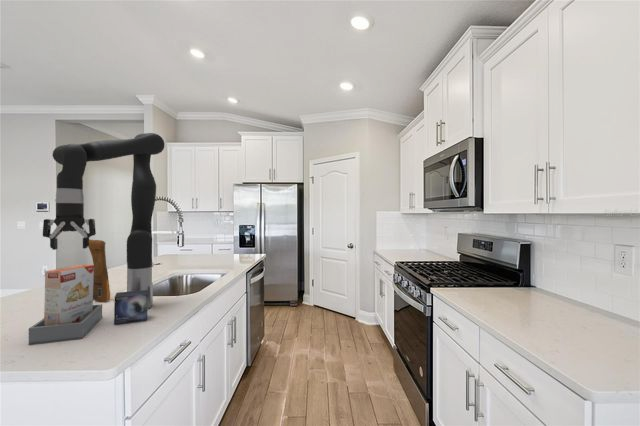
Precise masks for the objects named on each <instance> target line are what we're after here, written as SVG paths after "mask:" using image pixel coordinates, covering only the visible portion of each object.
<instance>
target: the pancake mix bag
mask: <svg viewBox="0 0 640 426" xmlns="http://www.w3.org/2000/svg"><path fill="white" fill-rule="evenodd" d="M87 248H88V250H89V252H90V255H91V258H92V265H94V277H93V300H95V301H96V302H98V303H107V302H109V301H110V300H111V290H110V289H111V288H110V280H109V273H108V266H107V258H106V242H105V240H99V239H89V246H88V247H87Z"/></svg>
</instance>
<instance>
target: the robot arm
mask: <svg viewBox="0 0 640 426" xmlns="http://www.w3.org/2000/svg"><path fill="white" fill-rule="evenodd" d="M164 149H165V141H164V138H163V137H162V136H160V135H159V134H158V133H153V132H146V133H145V132H144V133H139V134H137V135H136V136H134V137H133V138H128V139H127V138H126V139H124V138H123V139H109V140H108V139H107V140H100V141H99V140H98V141H90V142H87V143H86V142H85V143H79V144H78V143H77V144H76V143H69V144H62V145H59V146H57V147H55V148H54V149H53V151H52V159H54V161H55V162H56V163H58V164H60V165H62V169H61V171H60V172H58V174H57V176H56V191H55V199H54V201H55V219H52V218H51V219H50V218H46V219H44V220H43V225H42V237H43V238H47V239H49V247H50V249H51V250H52V251H56V250H58V236H59V235H60V234H61V233H64V232H65V233H66V232H78V233H79V234H80V235H81V236H82V248H83V249H85V250H86V249H88V248H89V247H88V246H89V240H90V238H91V237H92V236H95V235H96V233H97V232H96V231H97V230H96V219H95V218H89V219H85V217H84V211H85V209H84V207H85V206H84V205H85V203H84V202H85V201H84V200H85V199H84V190H83V189H84V180H83V178H84V175H85V171H86V167H87V162H100V161H106V160H111V159H116V158H117V159H118V158H122V157H126V156H133V157H132V158H133V159H132V160H133V169H132V170H133V171H132V181H131V182H132V184H131V193H130V196H131V197H130V200H131V201H130V203H131V205H130V206H131V212H132V222H131V229H130V233H129V235H128V236H127V239H126V265H127V266H126V268H127V269H126V270H127V271H126V292H130V291H141V290H148V294H147V309H151V308H152V306H153V304H154V303H153V302H154V301H153V299H154V297H153V294H154V292H153V291H154V288H153V287H154V286H153V233H152V231H153V230H152V221H153V220H152V218H153V214H154V210H155V209H154V208H155V204H156V198H157V197H156V196H157V183H156V181H155V180H156V179H155V177H154V175H153V173H152V169H151V157H152V155H153V156H154V155H159V154H160V153H161V154H162V152H163V151H164ZM85 223H86V225H87V226H88V230H89V231H87V230H86V228H84V227H83V226H84V225H85ZM54 224H55V226H56V228H55V229H54V230H53V232H51V229H52V226H53V225H54Z"/></svg>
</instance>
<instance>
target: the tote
mask: <svg viewBox="0 0 640 426" xmlns="http://www.w3.org/2000/svg"><path fill="white" fill-rule="evenodd" d="M102 318H103V304H93V311H92V312H91V313H90V314H89V315H88V316H87V317H86V318H85V319H84V320H83V321H82V322H80V323H71V324H61V325H51V326H44V317H43V318H42V319H41V320H39V321H38V322H36V323H35V324H33V325H32V326H30V327H29V328H28V345H29V346H30V345H38V344H47V343H54V342H55V343H56V342H63V341H72V340H74V341H75V340H82V339H84V337H86V335H87V334H88V333H89V332H90V331H91V330H92V329H93V328H94V327H95V326H96V325H97V324H98V322H99V321H100V320H101V319H102Z"/></svg>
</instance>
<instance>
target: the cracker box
mask: <svg viewBox="0 0 640 426" xmlns="http://www.w3.org/2000/svg"><path fill="white" fill-rule="evenodd" d="M93 277H94V264H77V265H72V266H66V267H62V268H57V269H52V270H51V269H49V270H46V271H45V272H44V278H45V279H44V306H43V307H44V312H43V315H44V316H43V318H44V326H51V325H61V324H71V323H80V322H82V321H83V320H84V319H85V318H86V317H87V316H88V315H89V314H90V313H91V312H92V311H93V305H94V298H93Z"/></svg>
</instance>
